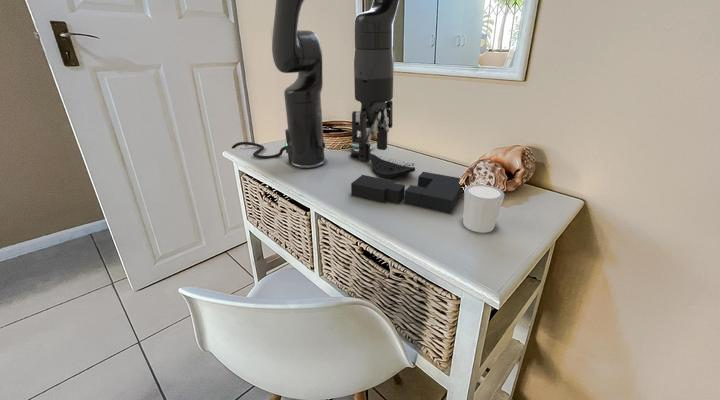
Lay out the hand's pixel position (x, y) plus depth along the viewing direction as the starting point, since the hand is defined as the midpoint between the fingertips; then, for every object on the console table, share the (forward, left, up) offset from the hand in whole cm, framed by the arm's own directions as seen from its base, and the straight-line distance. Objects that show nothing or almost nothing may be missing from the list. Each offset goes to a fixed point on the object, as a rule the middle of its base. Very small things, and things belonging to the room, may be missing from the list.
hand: (373, 155), depth 71 cm
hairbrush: (-6, +16, -10) cm, 20 cm away
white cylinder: (+24, -3, -10) cm, 26 cm away
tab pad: (+1, 0, -9) cm, 9 cm away
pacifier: (-17, +27, -10) cm, 33 cm away
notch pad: (+13, +5, -9) cm, 17 cm away
